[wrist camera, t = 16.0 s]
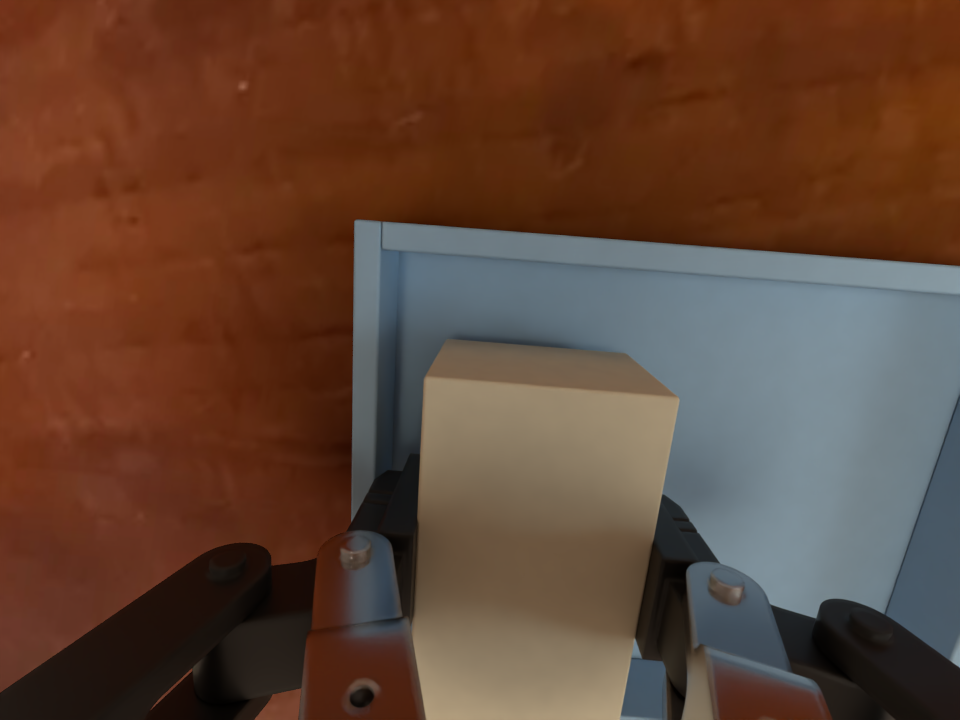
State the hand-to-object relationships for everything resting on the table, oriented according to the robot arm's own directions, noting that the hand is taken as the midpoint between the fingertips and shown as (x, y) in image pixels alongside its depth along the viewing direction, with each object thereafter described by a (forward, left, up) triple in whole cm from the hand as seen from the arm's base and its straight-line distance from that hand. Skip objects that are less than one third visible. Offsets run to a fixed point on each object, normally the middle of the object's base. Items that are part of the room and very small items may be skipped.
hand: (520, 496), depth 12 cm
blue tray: (+4, 0, -2) cm, 4 cm away
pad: (0, 0, 0) cm, 0 cm away
